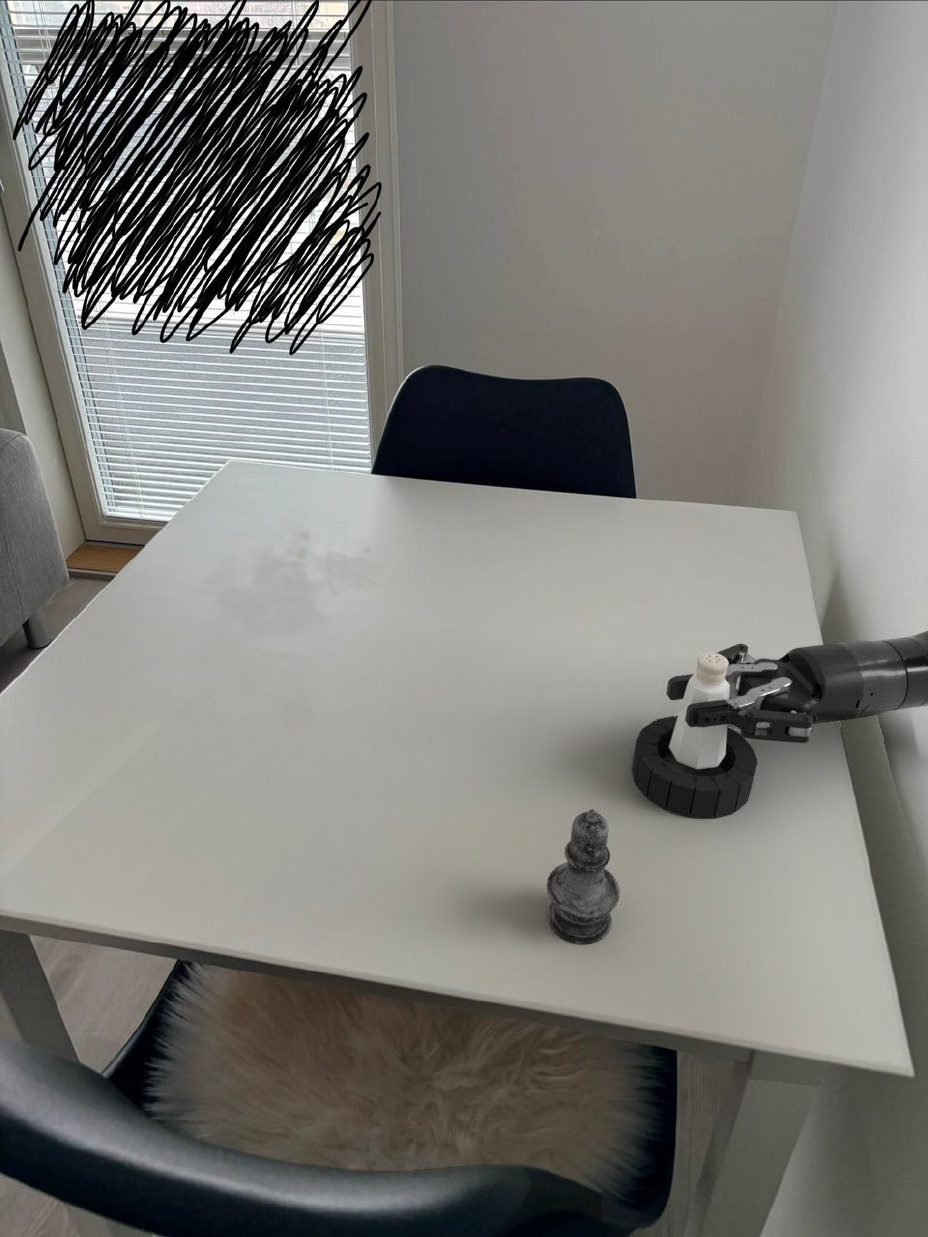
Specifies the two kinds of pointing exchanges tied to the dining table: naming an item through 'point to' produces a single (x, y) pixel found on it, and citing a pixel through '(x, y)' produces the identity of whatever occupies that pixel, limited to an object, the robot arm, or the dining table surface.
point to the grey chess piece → (583, 884)
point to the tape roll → (687, 790)
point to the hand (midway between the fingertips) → (679, 702)
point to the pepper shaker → (702, 742)
